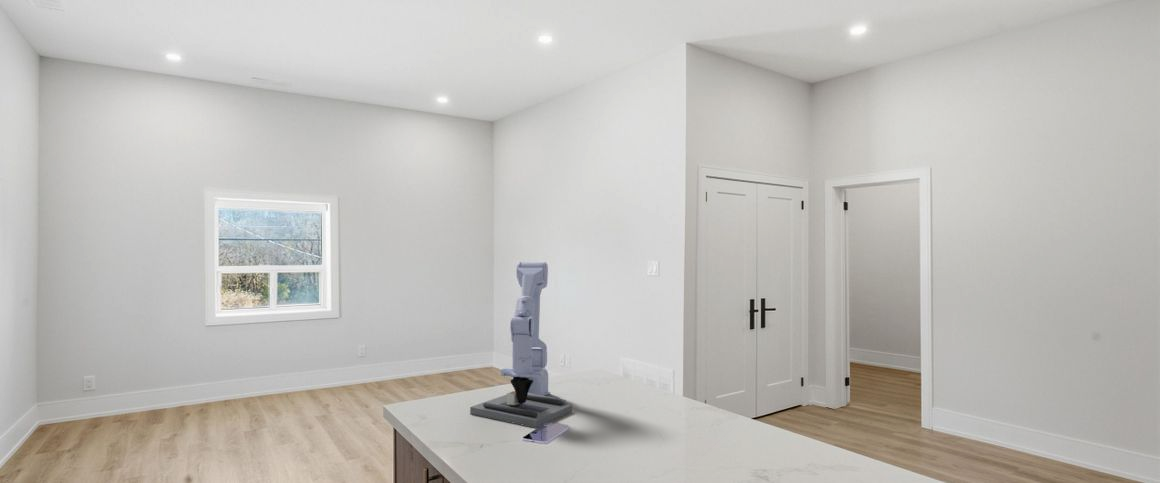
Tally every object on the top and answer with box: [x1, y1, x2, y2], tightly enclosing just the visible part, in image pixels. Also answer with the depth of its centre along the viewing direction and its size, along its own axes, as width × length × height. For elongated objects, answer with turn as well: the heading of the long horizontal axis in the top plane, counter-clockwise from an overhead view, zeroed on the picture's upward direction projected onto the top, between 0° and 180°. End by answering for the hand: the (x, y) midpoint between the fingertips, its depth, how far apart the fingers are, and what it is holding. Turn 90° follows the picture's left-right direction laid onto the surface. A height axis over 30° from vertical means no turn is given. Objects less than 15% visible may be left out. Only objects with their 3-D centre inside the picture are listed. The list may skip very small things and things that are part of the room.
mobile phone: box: [521, 422, 571, 445], centre depth 154 cm, size 8×1×15 cm
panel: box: [469, 394, 573, 429], centre depth 172 cm, size 18×24×2 cm
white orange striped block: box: [506, 389, 520, 405], centre depth 173 cm, size 4×3×4 cm
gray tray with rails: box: [483, 393, 567, 417], centre depth 173 cm, size 17×20×1 cm
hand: (522, 402), depth 172 cm, fingers closed
